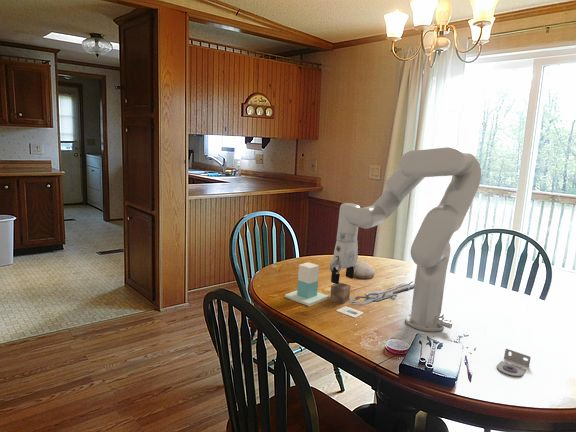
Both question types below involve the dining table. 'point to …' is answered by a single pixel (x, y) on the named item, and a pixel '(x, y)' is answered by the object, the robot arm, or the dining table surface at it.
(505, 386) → the dining table surface
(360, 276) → the stone
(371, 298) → the gun
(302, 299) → the baseplate
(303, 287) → the teal brick
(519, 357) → the bracket
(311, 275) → the cream brick
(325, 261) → the dining table surface
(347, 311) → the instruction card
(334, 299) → the walnut brick
